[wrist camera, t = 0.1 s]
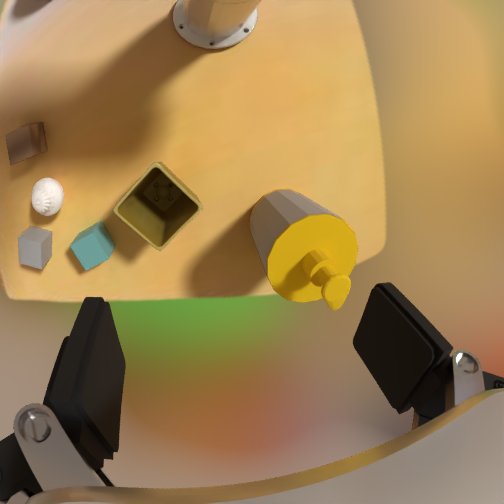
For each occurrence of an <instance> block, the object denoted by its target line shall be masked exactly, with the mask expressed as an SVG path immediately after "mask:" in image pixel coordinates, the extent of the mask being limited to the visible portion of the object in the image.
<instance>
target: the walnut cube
mask: <svg viewBox="0 0 504 504" xmlns="http://www.w3.org/2000/svg"><path fill="white" fill-rule="evenodd" d="M6 141H7V147H8V153H9V159H10V164H11V165H13V164H15V163H17V162H20V161H22V160H25V159H27V158H30V157H32V156H35V155H37V154H40V153H42V152H45V151H47V145H46V139H45V133H44V126H43V122H40V123H33V124H28V125H26V126H23V127H21V128H19V129H17V130H15V131H13V132H11V133H9V134H7V135H6Z"/></svg>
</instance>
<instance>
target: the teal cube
mask: <svg viewBox="0 0 504 504" xmlns="http://www.w3.org/2000/svg"><path fill="white" fill-rule="evenodd" d="M70 247H71V249H72V250H73V252H74V253H75V255H76V257H77V258H78V260H79V261H80V263H81V264H82V266H83V267H84V269H85V270H86V271H87V270H88V269H90V268H92V267H94V266H96V265H98V264H100V263H102V262H104V261H106V260H108V259H109V258H110V256H111V253H112V251H113V249H114V247H115V244H114V242H113V240H112V239H111V237H110V235H109V233H108V232H107V230H106V228H105V227H104V225H103V223H102V221H100V222H98V223H96V224H94V225H93V226H91V227H89V228H87V229H86V230H84V231H82V232H80V233H79V234H78V235H77V237H76V238H75V239H74V241H73V242H72V243H71V245H70Z"/></svg>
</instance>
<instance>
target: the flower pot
mask: <svg viewBox="0 0 504 504" xmlns="http://www.w3.org/2000/svg"><path fill="white" fill-rule="evenodd" d="M155 183H157V184H158V186H157V187H155V186H154V184H155ZM169 183H172V186H169ZM156 197H157V198H158V200H157V201H156V200H155V198H156ZM169 197H172V200H169ZM202 209H203V206H202V204H201V203H200V201H199V199H198V197H197V196H196V195H195V194H194V193H193V192H192V191H191V190H190V189H189V188H188V187H187V186H186V185H185V184H184V183H183V182H182V181H181V180H179V179H178V178H177V177H176V176H175V175H174V174H173V173H172V172H171V171H170V170H169V169H168V168H167V167H166V166H165V165H164V164H163V163H162V162H156V163H153V164H152V165H151V166H150V167H149V168H148V170H147V171H146V172H145V173H144V174H143V175H142V176H141V177H140V178H139V180H138V181H137V182H136V183H135V184H134V185H133V186H132V187H131V189H130V190H129V191H128V192H127V193H126V194H125V195H124V197H123V198H122V199H121V200H120V201H119V202H118V204H117V205H116V206H115V207H114V209H113V211H114V213H115V214H116V215H117V216H118V217H119V218H120V219H121V220H123V221H124V222H125V223H126V224H127V225H128V226H130V227H131V228H132V229H133V230H134V231H135V232H136V233H138V234H139V235H140V236H141V237H142V238H143V239H145V240H146V241H147V242H148V243H149V244H150V245H152V246H153V247H154V248H155V249H157V250H159V251H161V250H162V249H164V248H165V247H166V246H167V244H168V243H169V242H170V241H171V240H172V239H173V238H174V237H175V236H176V235H177V234H178V233H179V232H180V231H181V230H182V229H183V228H184V227H185V226H186V225H187V224H188V223H189V222H190V221H191V220H192V219H193V218H194V217H196V216H197V215H198V214H199V213H200V212H201V210H202Z"/></svg>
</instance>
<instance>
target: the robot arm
mask: <svg viewBox="0 0 504 504" xmlns="http://www.w3.org/2000/svg"><path fill="white" fill-rule="evenodd" d="M260 2H261V0H178V1H177V3H176V5H175V8H174V11H173V22H174V25H175V28H176V30H177V32H178V33H179V35H180V36H181V37H182V38H183V39H184V40H186V41H187V42H189V43H190V44H193V45H195V46H197V47H201V48H206V49H222V48H226V47H230V46H233V45H235V44H237V43H239V42H241V41H243V40H244V39H245V38H246V37H247V36H248V35H249V34H250V33H251V32H252V30H253V29H254V27H255V25H256V22H257V18H258V11H257V6H258V4H259V3H260ZM180 27H183V29H180ZM244 31H246V33H245V32H244ZM210 43H213V45H210ZM353 345H354V348H355V350H356V351H357V353H358V354H359V356H360V357H361V359H362V360H363V361H364V363H365V365H366V366H367V368H368V370H369V371H370V373H371V374H372V376H373V377H374V379H375V380H376V382H377V384H378V385H379V387H380V388H381V390H382V392H383V393H384V395H385V396H386V398H387V400H388V401H389V403H390V404H391V406H392V407H393V408H395V409H396V410H397V412H398V413H399V414H401V413H403V412H406V411H408V410H409V409H410V408H411V407H413V408H414V413H413V421H412V428H411V431H410V432H408V433H406V434H404V435H402V436H399V437H397V438H395V439H393V440H391V441H388V442H386V443H384V444H382V445H379V446H377V447H374V448H372V449H369V450H367V451H365V452H362V453H359V454H357V455H354V456H351V457H348V458H345V459H342V460H340V461H336V462H333V463H330V464H327V465H324V466H320V467H317V468H313V469H310V470H306V471H302V472H298V473H294V474H289V475H285V476H281V477H275V478H270V479H265V480H260V481H254V482H247V483H240V484H233V485H223V486H212V487H199V488H198V487H197V488H176V489H175V488H170V489H159V488H156V489H155V488H127V487H126V488H125V487H117V486H116V485H115V484H114V483H113V482H112V480H111V479H110V478H109V477H108V476H107V474H106V473H105V472H104V471H103V469H102V467H103V464H104V459H112V460H113V452H118V448H119V430H120V415H121V403H122V393H123V384H124V374H125V359H124V355H123V352H122V349H121V345H120V342H119V338H118V335H117V331H116V328H115V324H114V320H113V317H112V312H111V309H110V305H109V303H108V302H104V299H103V298H102V297H86V298H85V299H84V301H83V304H82V306H81V309H80V311H79V313H78V316H77V318H76V321H75V323H74V326H73V329H72V331H71V334H70V336H67V337H65V338H64V340H63V343H62V345H61V348H60V350H59V353H58V356H57V359H56V362H55V365H54V368H53V371H52V374H51V377H50V381H49V384H48V387H47V390H46V394H45V397H44V401H43V405H42V404H39V403H32V404H29V405H26V406H24V407H23V408H22V409H21V410H20V411H19V412H18V413H17V414H16V417H15V419H14V427H13V429H14V433H13V434H11V435H10V436H8V437H6V438H5V439H3V440H1V441H0V504H504V378H503V377H499V376H496V375H493V374H490V373H487V372H484V371H482V367H481V364H480V362H479V360H478V359H477V358H476V357H475V356H474V355H473V354H472V353H470V352H468V351H465V350H457V351H456V352H455V353H454V354H453V356H452V357H450V356H449V354H450V353H451V351H452V350H453V347H452V346H451V344H450V343H449V342H448V341H447V340H446V339H445V338H444V337H443V336H442V335H441V334H440V332H439V331H438V330H437V329H436V328H435V327H434V326H433V325H432V324H431V323H430V322H429V321H428V320H427V319H426V317H425V316H424V315H423V314H422V313H421V312H420V311H419V310H418V309H417V308H416V307H415V306H414V305H413V304H412V303H411V302H410V301H409V300H408V299H407V298H406V297H405V296H404V295H403V294H402V293H401V292H400V291H399V290H398V289H397V288H396V287H395V286H394V285H393V284H391V283H379V284H376V285H375V287H374V288H373V289H372V290H371V293H370V296H369V299H368V302H367V304H366V307H365V310H364V313H363V316H362V318H361V321H360V323H359V326H358V328H357V331H356V333H355V336H354V338H353Z"/></svg>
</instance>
